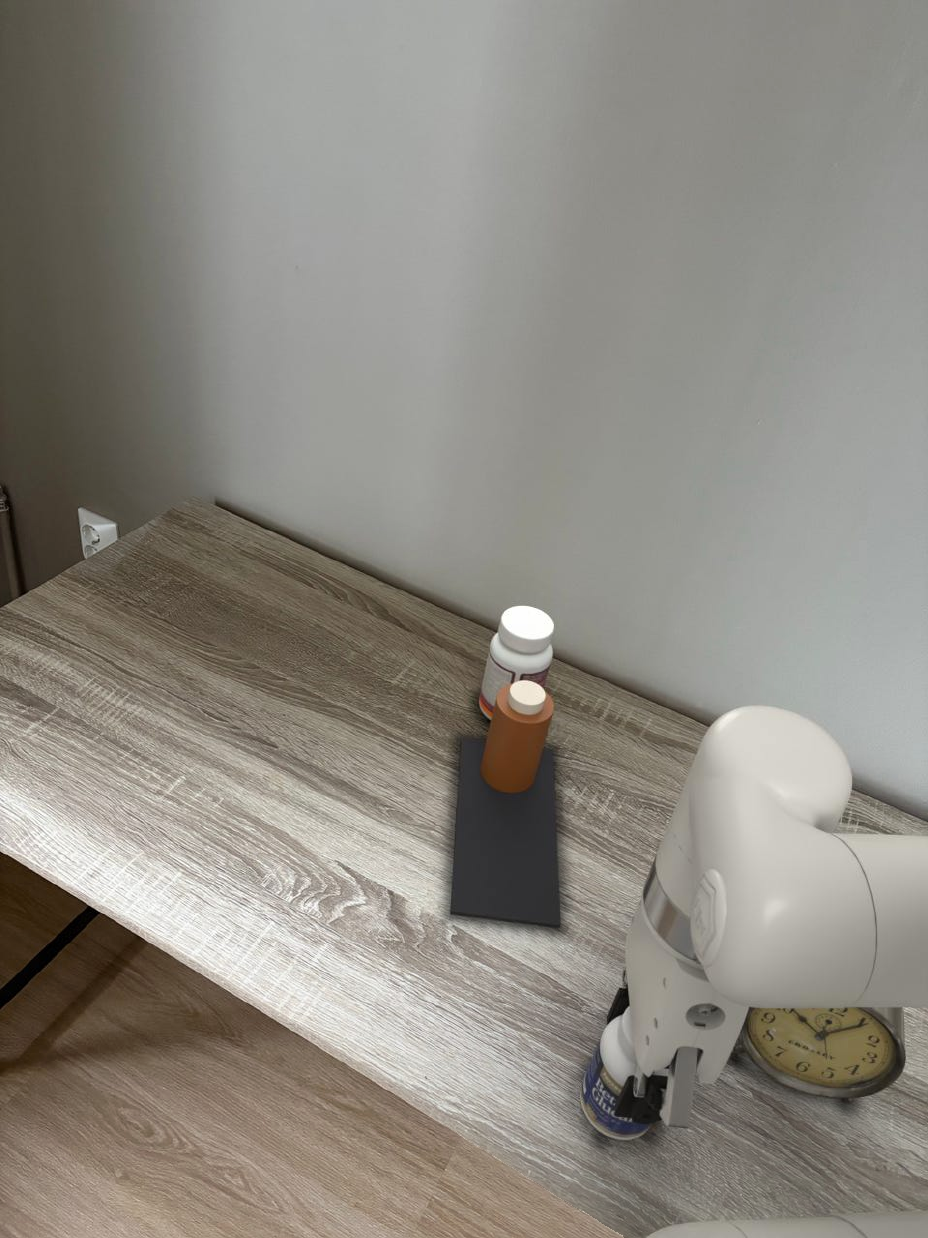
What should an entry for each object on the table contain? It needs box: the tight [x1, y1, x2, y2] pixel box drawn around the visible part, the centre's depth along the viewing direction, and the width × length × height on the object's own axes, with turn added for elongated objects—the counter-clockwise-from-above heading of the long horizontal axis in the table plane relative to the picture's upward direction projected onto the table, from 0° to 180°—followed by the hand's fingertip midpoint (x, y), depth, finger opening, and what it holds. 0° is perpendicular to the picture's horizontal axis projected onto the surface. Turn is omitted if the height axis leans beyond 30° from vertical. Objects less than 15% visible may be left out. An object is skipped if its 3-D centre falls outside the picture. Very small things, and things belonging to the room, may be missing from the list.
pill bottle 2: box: [579, 1006, 669, 1141], centre depth 66 cm, size 5×5×10 cm
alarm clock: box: [730, 1007, 907, 1105], centre depth 68 cm, size 11×5×16 cm, turn 69°
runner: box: [449, 736, 561, 929], centre depth 87 cm, size 20×9×1 cm, turn 178°
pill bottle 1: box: [478, 605, 555, 721], centre depth 96 cm, size 6×6×11 cm
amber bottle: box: [480, 680, 555, 793], centre depth 89 cm, size 5×5×10 cm
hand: (633, 1067), depth 66 cm, fingers closed on pill bottle 2, 5 cm apart
